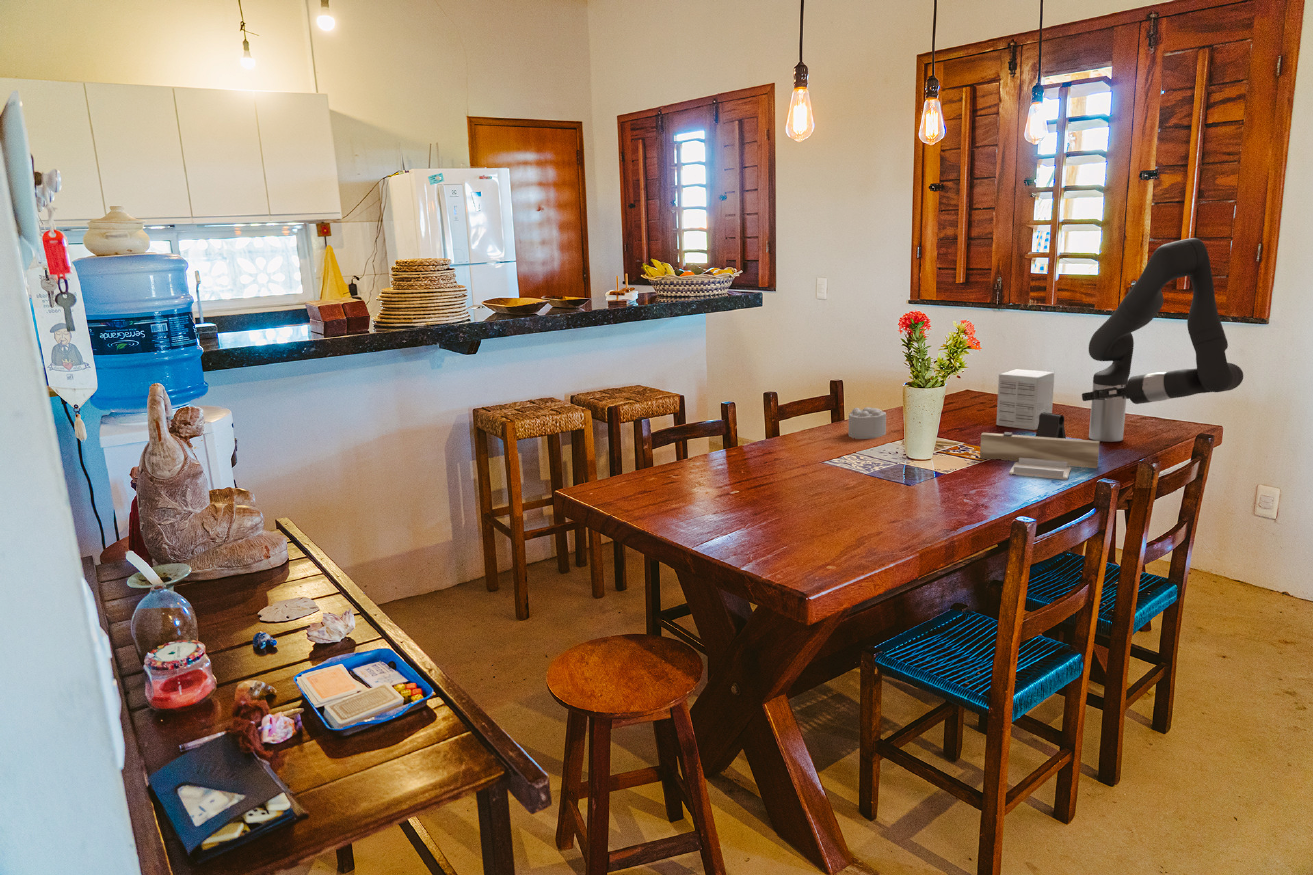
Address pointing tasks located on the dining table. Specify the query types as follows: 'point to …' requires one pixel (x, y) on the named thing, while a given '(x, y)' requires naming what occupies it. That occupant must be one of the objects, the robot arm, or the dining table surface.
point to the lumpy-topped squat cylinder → (867, 423)
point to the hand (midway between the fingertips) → (1090, 396)
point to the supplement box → (1024, 397)
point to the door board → (1039, 449)
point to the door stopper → (1051, 426)
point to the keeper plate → (1041, 468)
